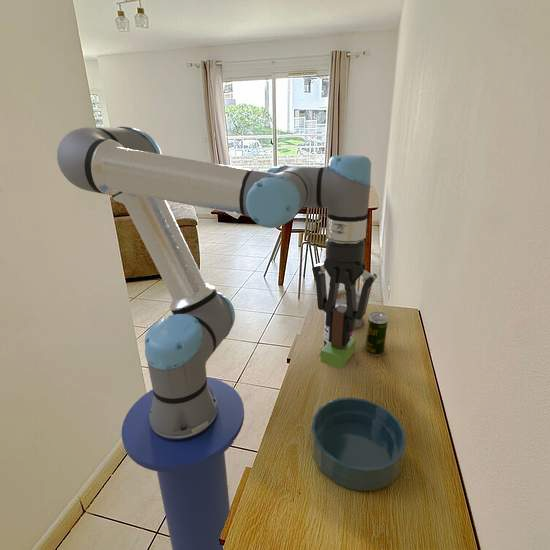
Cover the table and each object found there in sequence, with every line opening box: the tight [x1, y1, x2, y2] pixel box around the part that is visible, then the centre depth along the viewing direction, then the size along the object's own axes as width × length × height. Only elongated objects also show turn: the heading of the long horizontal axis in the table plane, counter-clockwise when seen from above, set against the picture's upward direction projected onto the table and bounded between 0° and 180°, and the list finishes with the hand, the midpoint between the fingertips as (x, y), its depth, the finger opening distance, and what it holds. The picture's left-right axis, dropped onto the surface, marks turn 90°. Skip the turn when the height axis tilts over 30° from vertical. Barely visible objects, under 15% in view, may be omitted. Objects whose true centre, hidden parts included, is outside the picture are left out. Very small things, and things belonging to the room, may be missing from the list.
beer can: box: [364, 311, 389, 357], centre depth 103 cm, size 5×5×12 cm
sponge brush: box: [320, 305, 357, 370], centre depth 78 cm, size 8×5×12 cm, turn 148°
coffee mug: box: [336, 288, 363, 329], centre depth 119 cm, size 13×10×10 cm
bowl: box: [310, 397, 407, 492], centre depth 72 cm, size 18×18×6 cm
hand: (339, 341), depth 78 cm, fingers closed on sponge brush, 2 cm apart
